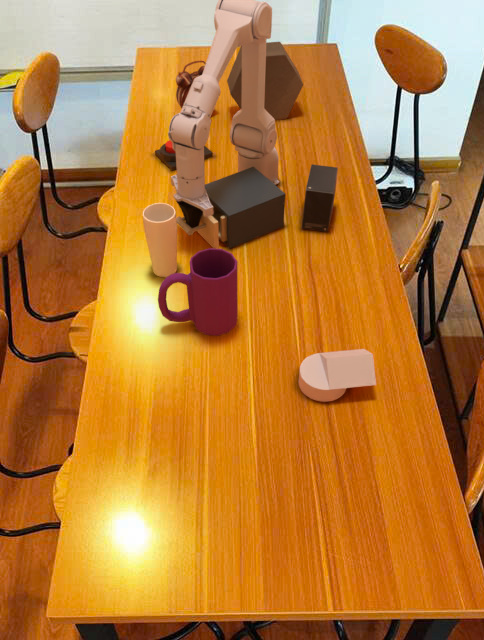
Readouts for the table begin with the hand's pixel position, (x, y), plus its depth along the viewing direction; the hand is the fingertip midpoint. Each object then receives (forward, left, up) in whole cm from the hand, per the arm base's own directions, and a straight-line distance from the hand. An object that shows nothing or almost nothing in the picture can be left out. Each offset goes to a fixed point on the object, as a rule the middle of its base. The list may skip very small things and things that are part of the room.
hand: (193, 227), depth 152 cm
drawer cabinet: (-13, 0, -4) cm, 14 cm away
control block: (-16, -32, -4) cm, 36 cm away
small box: (-29, +8, -4) cm, 30 cm away
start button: (-13, -32, -2) cm, 35 cm away
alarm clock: (-29, -47, -4) cm, 55 cm away
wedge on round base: (-1, +50, -4) cm, 50 cm away
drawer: (-6, 0, -3) cm, 7 cm away
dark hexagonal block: (-45, -38, -4) cm, 59 cm away
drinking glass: (+10, +5, -4) cm, 12 cm away
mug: (+12, +23, -4) cm, 26 cm away
